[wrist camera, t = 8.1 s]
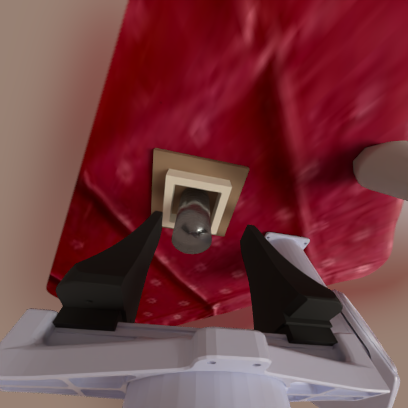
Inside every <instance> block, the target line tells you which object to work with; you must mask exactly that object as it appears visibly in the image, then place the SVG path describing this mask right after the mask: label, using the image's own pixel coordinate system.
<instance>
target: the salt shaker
mask: <svg viewBox="0 0 408 408" xmlns="http://www.w3.org/2000/svg"><path fill="white" fill-rule="evenodd" d="M353 172H354V175H355V177H356V179H357V181H358V183H359V184H360V185H361V186H363V187H365V188H368V189H370V190H374V191H377V192H380V193H383V194H387V195H390V196H393V197H397V198H400V199H403V200H406V201H408V141H392V142H387V143H382V144H378V145H374V146H371V147H367V148H365V149H364V150H363V151H362V152H361V153H360V154H359V155H358V156H357V157H356V158H355V159H354V161H353Z"/></svg>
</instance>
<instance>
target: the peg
mask: <svg viewBox="0 0 408 408" xmlns="http://www.w3.org/2000/svg"><path fill="white" fill-rule="evenodd" d="M211 241H212V238H211V222H210V205H209V195H208V193H207V192H206V191H205V190H203V189H198V188H192V187H189V188H187V189H185V190H184V191H183V193H182V195H181V199H180V203H179V208H178V212H177V217H176V221H175V226H174V230H173V235H172V243H173V245H174V246H175V247H176V248H177V249H178V250H179V251H181V252H184V253H188V254H197V253H201V252H203V251H205V250H207V249H208V248H209V246H210V245H211Z"/></svg>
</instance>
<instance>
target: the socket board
mask: <svg viewBox="0 0 408 408" xmlns="http://www.w3.org/2000/svg"><path fill="white" fill-rule="evenodd" d="M248 172H249V168H248V167H246V166H241V165H236V164H232V163H227V162H222V161H217V160H212V159H207V158H202V157H198V156H193V155H188V154H183V153H178V152H173V151H168V150H164V149H159V148H155V149H154V152H153V178H152V203H151V214H152V213H153V212H154V211H161V212H163V219H162V227H165V228H171V229H174V226H175V221H176V217H177V212H178V208H179V203H180V199H181V195H182V193H183V191H184V190H185V189H187V188H189V187H192V188H198V189H203V190H205V191H206V192H207V193H208V195H209V205H210V222H211V235H218V236H224V235H225V232H226V230H227V227H228V224H229V222H230V219H231V216H232V214H233V211H234V209H235V206H236V203H237V201H238V198H239V195H240V193H241V190H242V188H243V185H244V182H245V180H246V177H247V174H248Z"/></svg>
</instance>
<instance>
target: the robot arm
mask: <svg viewBox="0 0 408 408" xmlns="http://www.w3.org/2000/svg"><path fill="white" fill-rule="evenodd" d="M162 219H163V212H161V211H154V212H153V213H152V214H151V215H150V217H149V218H148V219H147V220H146V221H145V222H144V223H143V224H141V225H140V226H139V227H138V228H137V229H136V230H135V231H133V232H132V233H131V234H130V235H128V236H127V237H126V238H124V239H123V240H121V241H120V242H118V243H117V244H115V245H113V246H112V247H110V248H108V249H106V250H105V251H103V252H101V253H99V254H97V255H95V256H93V257H90V258H88V259H86V260H83V261H81V262H79V263H76V264H75V265H74V266H73V267H72V268H71V269H70V270H69V271H68V273H67V274H66V275H65V276H64V278H63V279H62V280H61V282H60V283H59V284H58V286H57V287H56V293H57V296H58V298H59V299H60V301H61V303H62V305H63V307H62V308H61V310H60V312H59V313H58V312H56V311H53V310H45V309H32V308H30V309H27V311H26V312H25V313H24V314H23V315H22V317H21V318H20V319H19V320H18V322H17V323H16V324H15V325H14V326H13V328H12V329H11V330H10V331H9V333H8V334H7V335H6V336H5V338H4V339H3V340H2V341H1V342H0V391H4V392H6V391H7V392H30V393H49V394H62V395H74V396H86V397H98V398H111V399H123V400H124V403H123V406H122V408H291V407H290V403H289V402H297V401H311V402H312V403H313V404H315V405H316V406H318V407H319V408H392V407H393V404H394V401H395V398H396V395H397V392H398V389H399V385H400V378H399V376H398V374H397V368H396V367H395V365H394V363H393V362H392V360H391V359H390V357H389V356H388V355H387V353H386V352H385V350H384V349H383V347H382V345H381V344H380V342H379V340H378V339H377V337H376V336H375V335H374V333H373V332H372V330H371V329H370V327H369V326H368V325H367V323H366V322H365V321H364V319H363V318H362V316H361V315H360V314H359V312H358V311H357V310H356V309H355V307H354V306H353V305H352V303H351V302H350V301H349V300H348V298H347V297H346V296H345V295H344V294H343V293H342V292H339V291H337V290H335V289H334V290H330V289H328V288H327V287H326V285H325V284H324V282H323V280H322V279H321V277H320V276H319V274H318V273H317V271H316V270H315V268H314V267H313V265H312V264H311V262H310V260H309V259H308V257H307V256H306V254H305V253H304V251H303V249H304V248H305V247H306V246H307V244H308V243H309V242H310V240H309V239H308V238H304V237H298V236H291V235H285V234H279V233H272V232H267V233H266V234H265V236H263V235H262V233H261V232H260V231H259V230H258V229H257V228H256V227H255V226H254V225H247V227H246V229H245V231H244V234H243V236H242V238H241V240H240V245H241V253H242V257H243V261H244V265H245V268H246V272H247V276H248V281H249V287H250V293H251V301H252V310H253V320H254V330H251V329H238V328H225V327H205V328H191V327H177V326H164V325H150V324H137V323H134V322H135V318H136V314H137V310H138V306H139V302H140V298H141V294H142V290H143V287H144V283H145V279H146V276H147V272H148V269H149V266H150V263H151V261H152V258H153V255H154V253H155V250H156V248H157V245H158V242H159V239H160V235H161V231H162Z"/></svg>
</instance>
